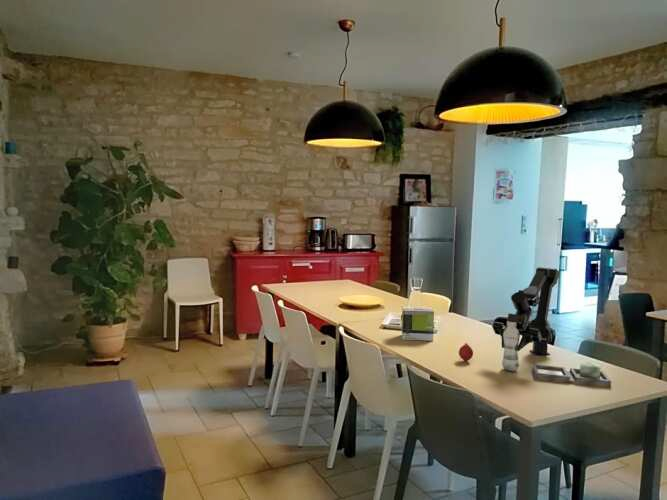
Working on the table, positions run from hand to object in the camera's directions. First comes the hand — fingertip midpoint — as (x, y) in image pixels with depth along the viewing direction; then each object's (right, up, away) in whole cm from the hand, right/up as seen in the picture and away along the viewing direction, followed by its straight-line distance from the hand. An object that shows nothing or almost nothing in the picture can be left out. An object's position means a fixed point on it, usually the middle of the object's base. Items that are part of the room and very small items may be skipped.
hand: (509, 349), depth 205 cm
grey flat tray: (+21, -10, -6) cm, 24 cm away
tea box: (-29, -4, +49) cm, 57 cm away
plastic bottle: (+1, -9, +2) cm, 9 cm away
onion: (-15, -8, +12) cm, 20 cm away
